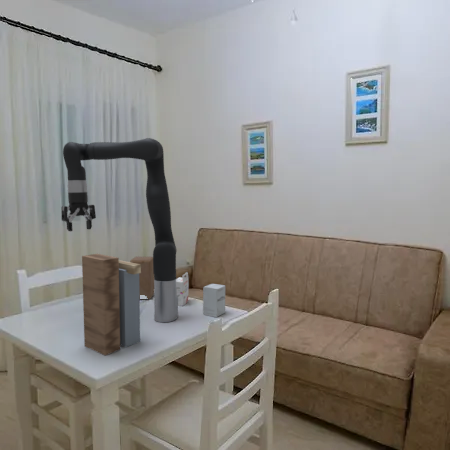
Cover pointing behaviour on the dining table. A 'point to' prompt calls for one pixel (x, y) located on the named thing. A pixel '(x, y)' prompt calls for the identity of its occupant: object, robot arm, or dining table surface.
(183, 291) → the ink cartridge box
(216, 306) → the supplement box
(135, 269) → the bar
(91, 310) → the walnut tower
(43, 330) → the dining table surface
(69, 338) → the dining table surface
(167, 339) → the dining table surface
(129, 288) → the grey post
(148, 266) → the wooden block
